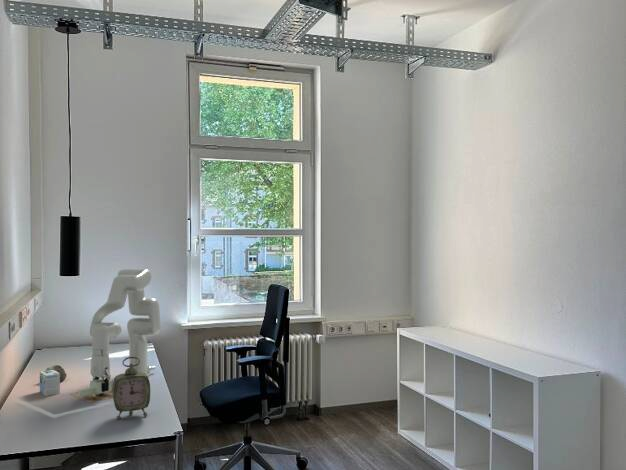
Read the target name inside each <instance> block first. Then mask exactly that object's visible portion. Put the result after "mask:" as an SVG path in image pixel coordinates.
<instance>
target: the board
mask: <svg viewBox="0 0 626 470" xmlns="http://www.w3.org/2000/svg"><path fill="white" fill-rule="evenodd" d="M68 395H69V396H72V397H74V398H77V399H81V400H83V401H86V402H88V403H95V402H100V401H105V400H108V399H113V384H112V391H109V392H105V393H103V395H102V396H99V394H96V399H93V394H89V395H85V396H81V397H80V396H78V391H76V392H71V393H68Z"/></svg>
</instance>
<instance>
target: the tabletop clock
mask: <svg viewBox="0 0 626 470" xmlns="http://www.w3.org/2000/svg"><path fill="white" fill-rule="evenodd" d="M130 358H135V359H137V360H138V361H139V363H140V360H139V359H138V358H137V357H129V356H128V357H125V358H124V359H123V361H122V366H124V367H126V369H125V371H124V373H120V374H117V375H115V376H114V379H113V382H112V385H113V398H112V399H113V403H114V408H115V409H116V411H118V412H119V414H118V415H117V416H116V420H118V421H119V420H120V419H121V416H122V415H121V414H122V412H124V413H125V412H128V415H129V416H132V415H133V414H134V413H133V411H142V412H143V414H142V415H143V416H144V417H147V416H148V412H146V411H145V409H146V408H148V407H149V405H150V401H151V384H150V383H151V382H150V379H149V376H147V375H146V374H145V373H143V372H137V370H136V368H134V366H137V365H138V364H139V363H137V364H135V365H132V363H131V364H130V365H127V364H125V362H126V360H129V359H130ZM129 367H130V368H129Z"/></svg>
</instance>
